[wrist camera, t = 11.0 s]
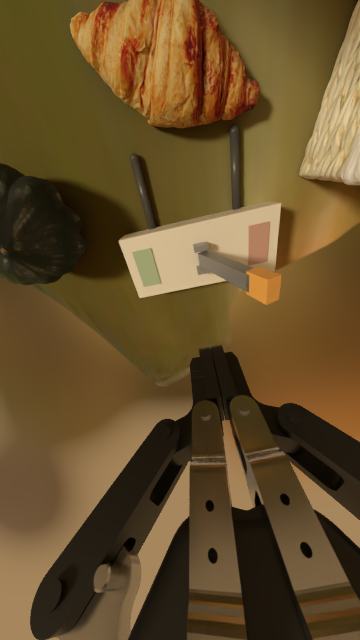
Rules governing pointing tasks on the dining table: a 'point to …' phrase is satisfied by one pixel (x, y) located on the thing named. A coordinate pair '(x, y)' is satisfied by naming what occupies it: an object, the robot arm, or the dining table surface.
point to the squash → (36, 230)
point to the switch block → (200, 239)
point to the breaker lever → (243, 276)
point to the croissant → (166, 61)
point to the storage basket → (339, 118)
